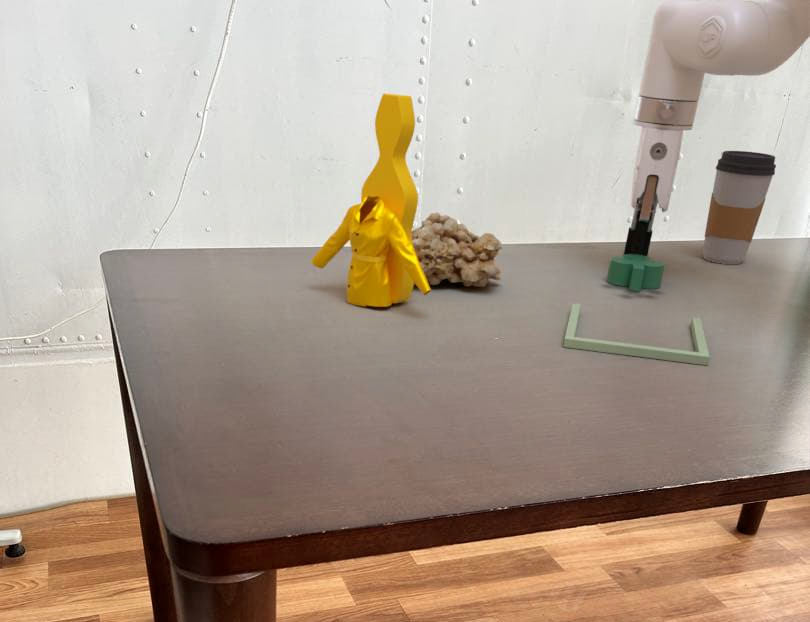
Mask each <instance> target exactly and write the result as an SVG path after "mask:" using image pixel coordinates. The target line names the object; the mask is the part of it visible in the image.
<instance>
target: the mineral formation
mask: <svg viewBox="0 0 810 622" xmlns="http://www.w3.org/2000/svg"><path fill="white" fill-rule="evenodd" d="M412 242H413V247H414V250H415V252H416V255H417V257H418V260H419V262H420V265H421V267H422V269H423V272H424V274H425V276H426V279H427V281H428V284H429V285H431V286H434V285H435V286H436V285H439V284H440V283H441V282H442V281H443V280H445V279H447V280H448V281H449V283H451V284H452V283H462V284H463V286H464V287H471V286H474V287H479V288H483V287H485V286H486V285H487V284H488V283H489V282H490V281H489V280H490V279H492V280H495V281H501V280H502V279H503V274H502V270H501V269H500V268H499V267H498V266H497V261H496V260H495V258H496V257H497V256H498V254H499V252H500V250H502V249H503V246H502V242H501V240H500V239H498V238H497V237H496V236H495V235H494V234H493V233H489V232H485V233H483V234H482V235H481V236H479V235H476V234H475V233H473V232H470V231H469V229H468V228H467V227H466V225H465V224H464V223H459V224H458V221H457V220H456V219H455V218H452V217H451V216H450V215H447V214H443V215H441V213H439V212H433V213H430V214H429V215H428V216H427V217H426V218H425V220H422V221H421V225H420V226H419V227H415V229H412ZM414 286H417V285H416V284H415V283H414Z"/></svg>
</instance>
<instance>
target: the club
mask: <svg viewBox="0 0 810 622" xmlns="http://www.w3.org/2000/svg"><path fill="white" fill-rule="evenodd" d="M665 265H666V263H664V262H662V261H660V260H655V259H651V257H650V256H648V255H647V256H644V255H639V254H625V255H624V254H623V255H622V256H614V257H613V256H612V257H611V258H610V260H609V266H608V272H607V276H606V282H607V283H608V284H610V285H614V286H617V287H618V286H619V287H628V290H629V291H630V292H641V289H648V290H654V289H659V288H661V285H662V281H663V280H662V279H663V274H664V271H665Z"/></svg>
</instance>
